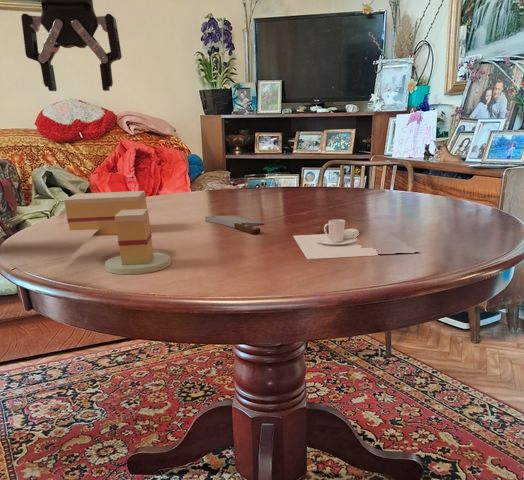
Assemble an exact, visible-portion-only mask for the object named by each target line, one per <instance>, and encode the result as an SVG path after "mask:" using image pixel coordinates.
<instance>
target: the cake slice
mask: <svg viewBox="0 0 524 480" xmlns="http://www.w3.org/2000/svg"><path fill="white" fill-rule="evenodd" d="M115 222H116V228H117V234H116V236H117V244H118V248H119V254H120V255H119V256H121V261H122V265H133V264H149V263H150V261H151V259H152V257H153V253H154V247H153V239H152V232H151V224H150V217H149V209H148V208H147V209H134V210H121V211H120V212H119V213H117V214H116V215H115Z"/></svg>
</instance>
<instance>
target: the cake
mask: <svg viewBox="0 0 524 480" xmlns="http://www.w3.org/2000/svg"><path fill="white" fill-rule="evenodd" d="M63 202H64V203H63V204H64V208H65V213H66V218H67V219H66V220H67V224H68V229H69V231H85V230H86V231H87V230H88V231H89V230H96V231H95V232H94V233H93V234H92V235H97V236H113V235H114V234H116V235H117V228H116V222H115V215H116V214H117V213H119V212H120V211H121V210H134V209H148V206H147V199H146V191H145V190H131V191H129V190H128V191H110V192H87V193H75V194H73V195H71V196H68V197H67V198H65V199H63Z"/></svg>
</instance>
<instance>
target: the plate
mask: <svg viewBox="0 0 524 480" xmlns="http://www.w3.org/2000/svg"><path fill="white" fill-rule="evenodd" d="M171 264H172V259H171V256H170V255H168V254H166V253H162V252H153V257H152V259H151V261H150V263H149V264H133V265H122V261H121V255H117V256H113V257H111V258H108V259H107V260H106V261H104V268H105V271H106V272H108V273H111V274H115V275H140V274H141V275H142V274H149V273H154V272H158V271H162V270H164V269H166V268H168V267H170V266H171Z"/></svg>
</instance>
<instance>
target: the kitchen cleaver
mask: <svg viewBox="0 0 524 480" xmlns="http://www.w3.org/2000/svg"><path fill="white" fill-rule="evenodd" d="M204 222H207V223H209V222H210V223H214V224H219V225H223V226H227V227H230V228H233V229H236V230H239V231H242V232H245V233H248V234H251V235H260V234H261V232H262V231H261V228H260V227H255V226H259V225H264V224H265V223H264V222H261V221H258V220H255V219H252V218H249V217H248V218H247V217H244V216H239V215H205V216H204Z"/></svg>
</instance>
